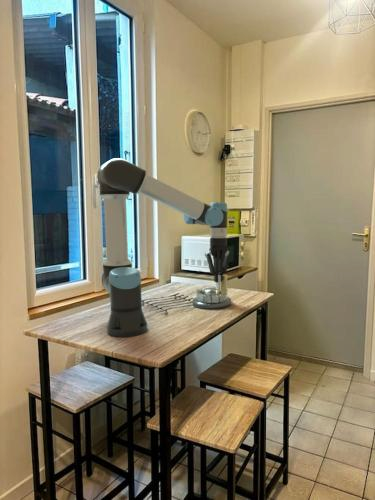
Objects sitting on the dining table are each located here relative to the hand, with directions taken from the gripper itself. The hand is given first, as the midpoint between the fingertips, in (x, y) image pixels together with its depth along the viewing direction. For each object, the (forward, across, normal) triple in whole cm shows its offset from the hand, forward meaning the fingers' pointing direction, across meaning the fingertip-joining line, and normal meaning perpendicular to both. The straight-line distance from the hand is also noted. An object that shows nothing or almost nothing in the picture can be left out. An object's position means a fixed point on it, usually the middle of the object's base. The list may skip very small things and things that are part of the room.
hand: (218, 289), depth 174 cm
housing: (+8, 0, +6) cm, 10 cm away
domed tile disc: (+6, 0, +6) cm, 8 cm away
